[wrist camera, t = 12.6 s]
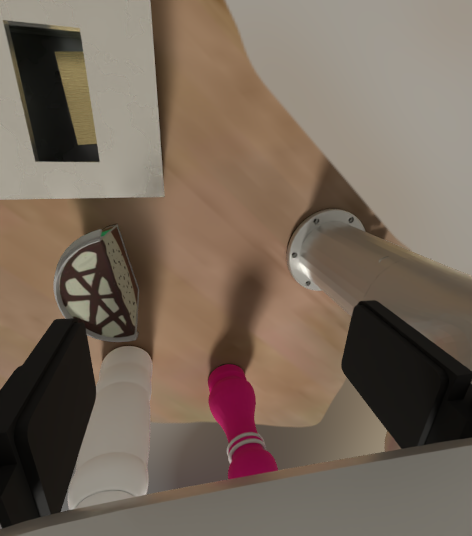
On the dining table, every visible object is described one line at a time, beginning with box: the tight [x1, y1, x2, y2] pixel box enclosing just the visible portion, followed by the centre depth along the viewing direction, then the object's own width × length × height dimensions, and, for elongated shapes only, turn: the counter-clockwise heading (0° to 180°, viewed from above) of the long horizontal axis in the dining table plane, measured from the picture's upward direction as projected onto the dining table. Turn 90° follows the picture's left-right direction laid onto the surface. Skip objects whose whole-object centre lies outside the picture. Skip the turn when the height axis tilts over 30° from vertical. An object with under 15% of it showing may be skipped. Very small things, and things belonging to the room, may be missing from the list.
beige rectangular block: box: [54, 51, 97, 145], centre depth 28 cm, size 2×5×7 cm
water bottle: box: [68, 346, 152, 510], centre depth 32 cm, size 7×7×25 cm
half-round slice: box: [54, 224, 139, 342], centre depth 32 cm, size 12×6×10 cm, turn 8°
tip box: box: [0, 0, 165, 199], centre depth 26 cm, size 14×14×11 cm
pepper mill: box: [208, 364, 278, 479], centre depth 40 cm, size 7×7×20 cm
